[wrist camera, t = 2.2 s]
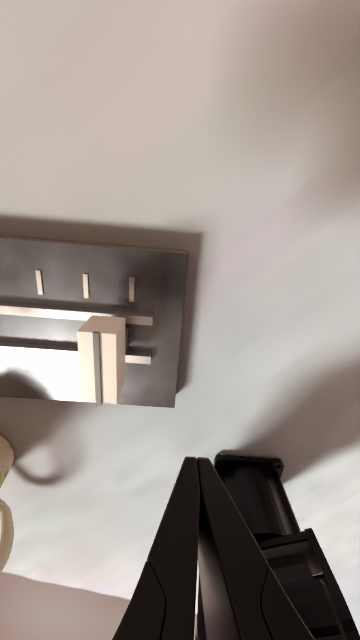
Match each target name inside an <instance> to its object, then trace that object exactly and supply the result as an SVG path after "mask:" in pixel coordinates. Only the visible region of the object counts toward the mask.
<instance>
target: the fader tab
mask: <svg viewBox="0 0 360 640" xmlns="http://www.w3.org/2000/svg"><path fill="white" fill-rule="evenodd" d="M77 342H78V356H79V370H80V384H81V398H82V402H96V405H102V403H111V404H117V402H118V399H119V396H120V393H121V390H122V387H123V385H124V382H125V353H126V351H127V348H128V326H125V318H121V317H108V316H95V315H92V316H91V317H90V318H89V319H88V320H87V321H86V322H85V323H84V324H83V325H82V326H81V327H80V328H79V330H78V331H77Z"/></svg>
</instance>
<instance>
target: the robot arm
mask: <svg viewBox="0 0 360 640" xmlns="http://www.w3.org/2000/svg"><path fill="white" fill-rule="evenodd" d="M283 468H284V465H283V462H282V460H280V459H270V458H254V457H237V456H221V455H220V456H216V457H215V459H214V464H213V465H212V463H211V461H210V459H209V458H203V457H198V458H196V457H185V459H184V461H183V464H182V467H181V469H180V472H179V475H178V477H177V480H176V483H175V485H174V488H173V491H172V493H171V496H170V499H169V501H168V504H167V507H166V510H165V512H164V515H163V518H162V520H161V523H160V526H159V528H158V531H157V534H156V536H155V539H154V542H153V544H152V547H151V550H150V552H149V555H148V558H147V561H146V563H145V565H144V568H143V571H142V574H141V576H140V579H139V581H138V584H137V586H136V589H135V591H134V594H133V596H132V599H131V601H130V603H129V605H128V608H127V610H126V612H125V614H124V616H123V619H122V620H121V623H120V625H119V627H118V629H117V631H116V633H115V635H114V637H113V639H112V640H194V621H195V601H196V580H197V560H198V565H199V589H198V614H197V629H196V636H195V639H196V640H360V636H359V633H358V630H357V628H356V625H355V623H354V620H353V618H352V616H351V613H350V611H349V608H348V606H347V604H346V601H345V599H344V597H343V594H342V592H341V590H340V588H339V586H338V584H337V581H336V579H335V577H334V575H333V573H332V571H331V569H330V566H329V564H328V562H327V560H326V558H325V556H324V554H323V551H322V549H321V547H320V545H319V543H318V541H317V539H316V536H315V534H314V532H313V530H312V528H308V529H304V530H305V531H302V532H301V531H300V528H299V526H298V523H297V520H296V518H295V515H294V513H293V510H292V508H291V505H290V502H289V500H288V497H287V495H286V492H285V490H284V487H283V484H282V482H281V479H280V477H281V474H282V471H283ZM316 574H318V575H316ZM313 575H314V576H313Z"/></svg>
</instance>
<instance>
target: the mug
mask: <svg viewBox="0 0 360 640" xmlns="http://www.w3.org/2000/svg"><path fill="white" fill-rule="evenodd" d="M13 461H14V452H13V449H12V447H11V445H10V444H9V442H8V441H7V440H6V439H5V438H4V437H2V436H1V435H0V487H1V485H2V483H3V482H4V480H5V478H6V476H7V474H8V472H9V470H10V468H11V466H12V464H13ZM0 521H1V539H0V573H1V572H2V570H3V568H4V566H5V565H6V562H7V560H8V558H9V555H10V552H11V549H12V544H13V538H14V526H13V519H12V514H11V510H10V508H9V506H8V505H7V504H6V503H5V502H4V501H3V500H2V499H0Z"/></svg>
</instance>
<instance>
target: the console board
mask: <svg viewBox="0 0 360 640" xmlns="http://www.w3.org/2000/svg"><path fill="white" fill-rule="evenodd" d="M187 262H188V251H179V250H167V249H155V248H143V247H131V246H119V245H107V244H95V243H83V242H71V241H59V240H47V239H35V238H23V237H11V236H0V396H3V397H18V398H33V399H48V400H63V401H78V402H82V398H81V384H80V370H79V356H78V342H77V331H78V330H79V328H80V327H81V326H82V325H83V324H84V323H85V322H86V321H87V320H88V319H89V318H90V317H91V316H92V315H95V316H108V317H121V318H125V326H128V348H127V351H126V353H125V382H124V385H123V387H122V390H121V393H120V396H119V399H118V402H117V404H124V405H139V406H154V407H169V408H174V406H175V395H176V384H177V373H178V362H179V351H180V340H181V329H182V318H183V306H184V295H185V284H186V273H187ZM93 403H96V402H93ZM109 404H111V403H109Z"/></svg>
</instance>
